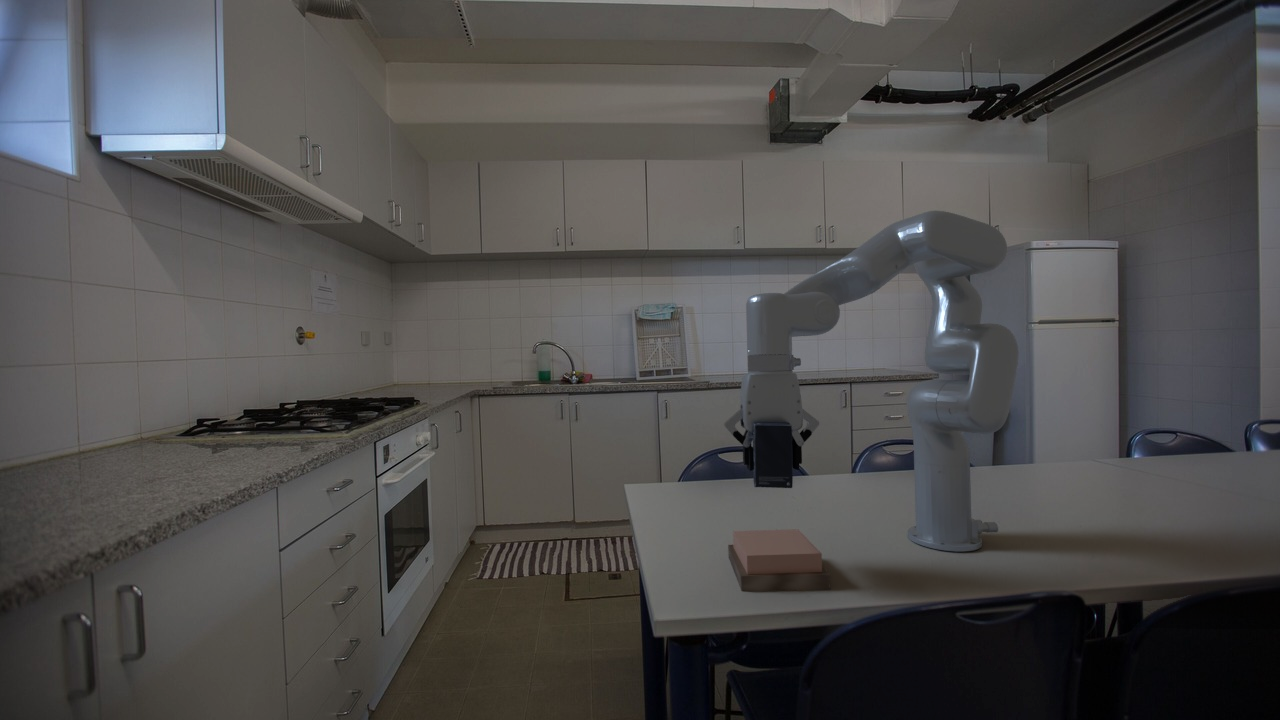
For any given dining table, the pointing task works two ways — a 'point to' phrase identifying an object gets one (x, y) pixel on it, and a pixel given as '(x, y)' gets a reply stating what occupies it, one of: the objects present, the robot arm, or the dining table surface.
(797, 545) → the terracotta slab
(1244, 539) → the dining table surface
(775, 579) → the walnut slab
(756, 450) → the small box
